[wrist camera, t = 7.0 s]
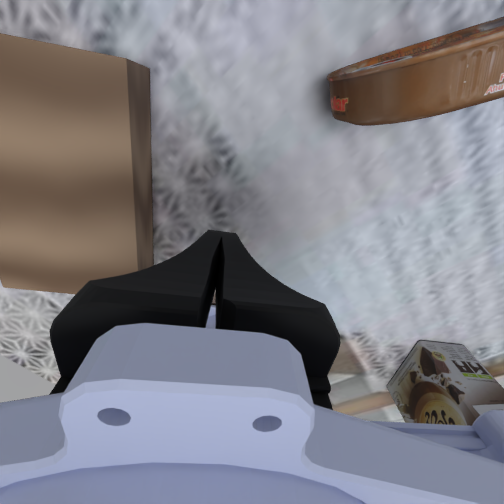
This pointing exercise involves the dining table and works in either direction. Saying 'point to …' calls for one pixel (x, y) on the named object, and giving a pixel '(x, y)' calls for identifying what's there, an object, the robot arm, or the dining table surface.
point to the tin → (422, 78)
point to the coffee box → (444, 386)
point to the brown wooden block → (72, 166)
